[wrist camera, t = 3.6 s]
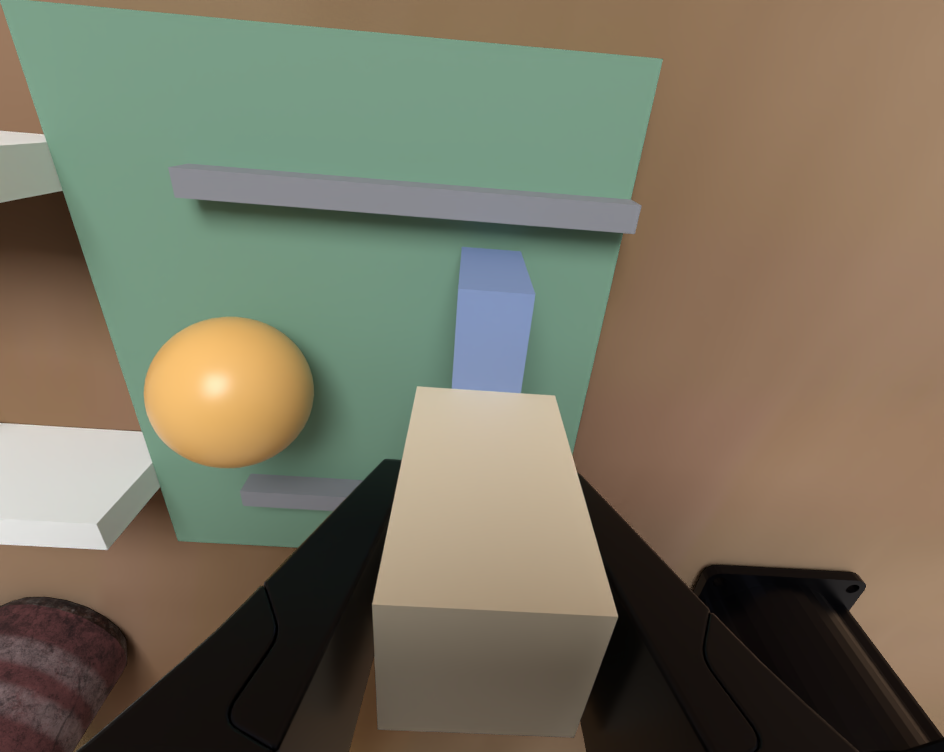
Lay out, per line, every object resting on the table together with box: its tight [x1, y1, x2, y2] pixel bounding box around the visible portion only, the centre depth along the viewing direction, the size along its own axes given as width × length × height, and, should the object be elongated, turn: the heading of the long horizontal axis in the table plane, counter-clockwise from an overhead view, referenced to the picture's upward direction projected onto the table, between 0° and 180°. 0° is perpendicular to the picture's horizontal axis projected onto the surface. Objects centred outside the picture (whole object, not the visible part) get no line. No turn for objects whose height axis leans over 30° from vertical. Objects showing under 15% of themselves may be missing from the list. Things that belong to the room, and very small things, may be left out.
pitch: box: [0, 0, 663, 548], centre depth 13 cm, size 13×15×2 cm
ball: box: [144, 317, 314, 468], centre depth 11 cm, size 4×4×4 cm
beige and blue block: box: [372, 247, 618, 738], centre depth 9 cm, size 3×7×8 cm, turn 176°
